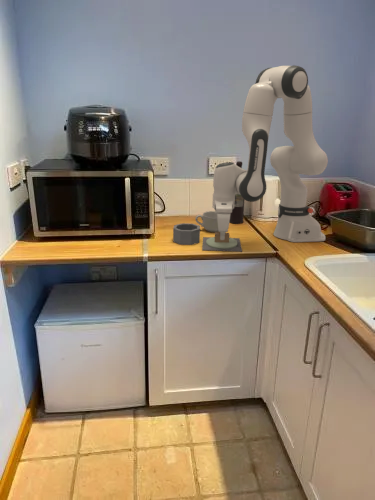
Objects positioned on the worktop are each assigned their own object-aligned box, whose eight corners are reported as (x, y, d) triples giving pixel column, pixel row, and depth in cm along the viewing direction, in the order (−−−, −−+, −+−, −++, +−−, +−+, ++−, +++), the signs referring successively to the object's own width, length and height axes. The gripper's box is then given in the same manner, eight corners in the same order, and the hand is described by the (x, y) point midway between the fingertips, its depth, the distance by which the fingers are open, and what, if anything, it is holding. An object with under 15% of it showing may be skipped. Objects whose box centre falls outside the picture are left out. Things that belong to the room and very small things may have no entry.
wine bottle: (226, 222, 191) (229, 161, 180) (234, 219, 196) (237, 160, 185) (238, 224, 187) (241, 163, 176) (245, 222, 192) (249, 161, 181)
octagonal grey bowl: (200, 236, 168) (200, 223, 166) (199, 245, 158) (199, 231, 156) (175, 235, 169) (175, 223, 167) (172, 244, 159) (172, 230, 156)
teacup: (224, 227, 182) (225, 211, 180) (224, 234, 172) (225, 217, 169) (196, 226, 184) (196, 210, 181) (194, 233, 173) (194, 216, 171)
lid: (236, 239, 164) (236, 229, 163) (238, 249, 152) (238, 238, 151) (206, 238, 165) (206, 228, 164) (205, 248, 153) (206, 237, 151)
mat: (239, 239, 166) (239, 238, 166) (242, 251, 151) (242, 250, 151) (203, 237, 167) (203, 237, 167) (202, 250, 152) (202, 249, 152)
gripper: (215, 197, 163) (214, 228, 167) (215, 209, 144) (214, 243, 148) (230, 198, 162) (228, 228, 167) (232, 209, 143) (230, 244, 148)
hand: (222, 236), depth 158 cm, fingers open, 8 cm apart
